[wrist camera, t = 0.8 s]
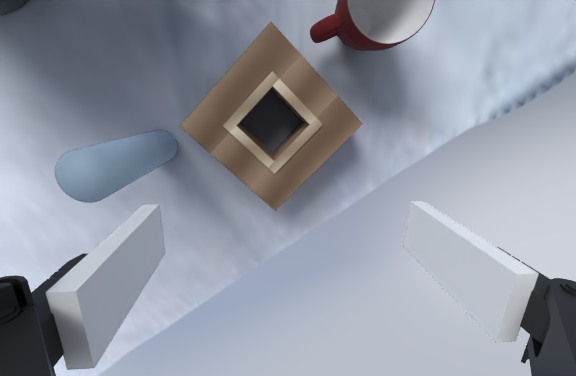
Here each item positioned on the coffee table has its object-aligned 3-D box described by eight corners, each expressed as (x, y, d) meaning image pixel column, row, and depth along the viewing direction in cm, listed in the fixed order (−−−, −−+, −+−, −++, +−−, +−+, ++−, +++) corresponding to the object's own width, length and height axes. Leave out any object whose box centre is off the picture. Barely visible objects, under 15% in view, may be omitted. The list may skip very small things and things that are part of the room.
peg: (138, 146, 36) (43, 177, 20) (158, 123, 35) (76, 137, 20) (164, 167, 37) (92, 212, 21) (184, 145, 36) (124, 175, 21)
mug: (322, 83, 35) (343, 75, 26) (292, 19, 33) (303, -17, 23) (398, 41, 34) (449, 16, 25) (372, -29, 32) (418, -85, 23)
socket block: (193, 122, 35) (178, 126, 29) (270, 36, 33) (271, 21, 27) (273, 195, 39) (275, 211, 33) (347, 120, 37) (363, 123, 31)
